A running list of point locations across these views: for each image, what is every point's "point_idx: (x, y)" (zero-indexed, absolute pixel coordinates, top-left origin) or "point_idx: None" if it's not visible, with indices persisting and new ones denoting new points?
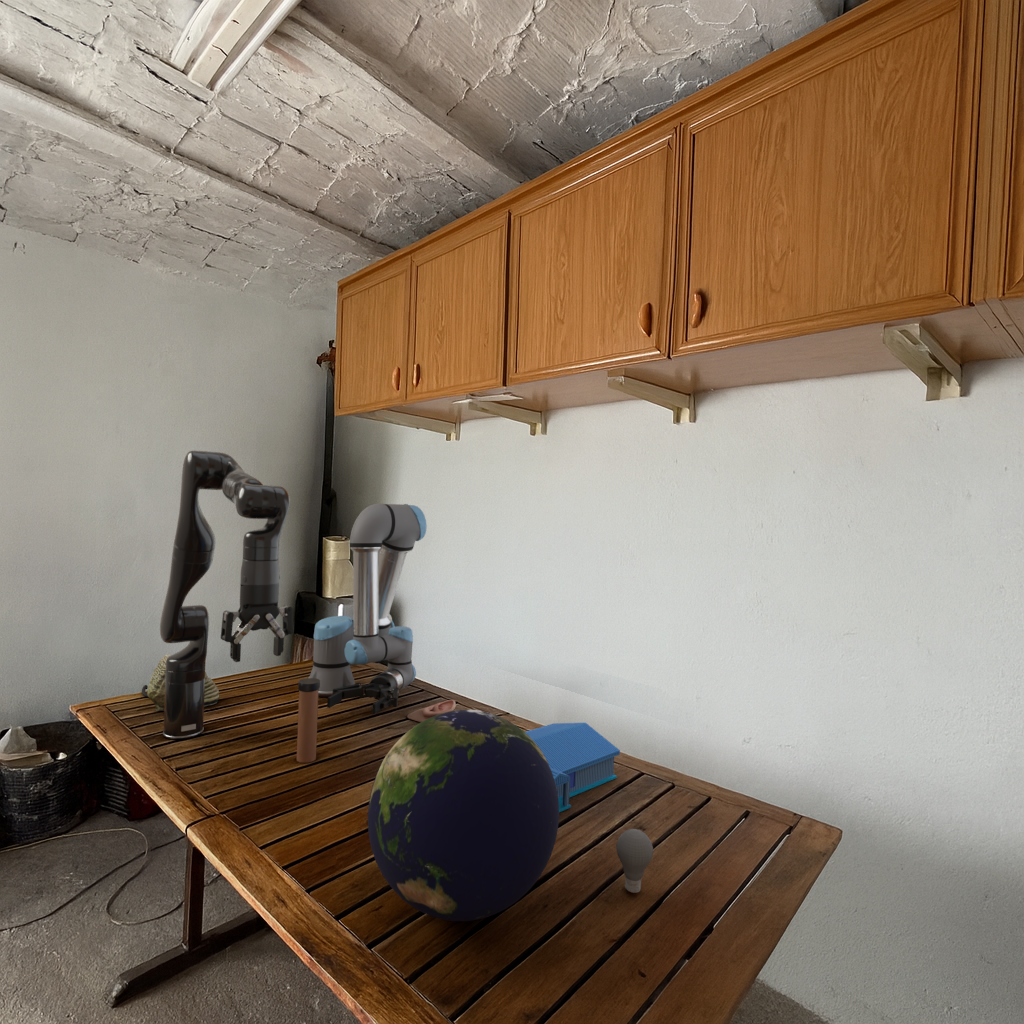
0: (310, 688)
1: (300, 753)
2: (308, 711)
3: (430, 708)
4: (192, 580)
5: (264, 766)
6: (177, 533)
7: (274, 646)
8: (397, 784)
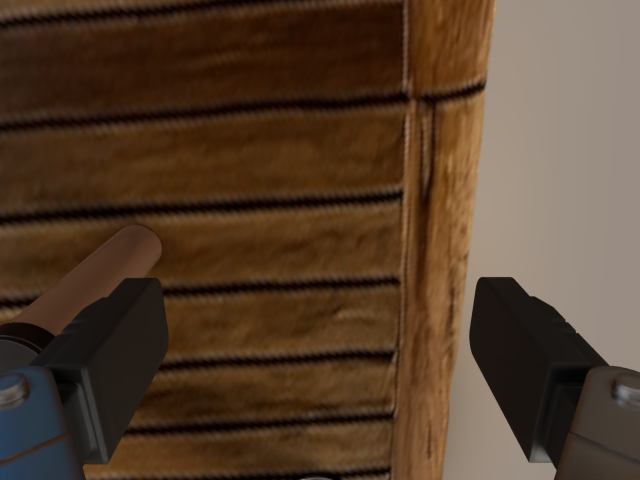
0: (25, 330)
1: (150, 245)
2: (79, 288)
3: None
4: None
5: (237, 266)
6: None
7: (142, 376)
8: None
